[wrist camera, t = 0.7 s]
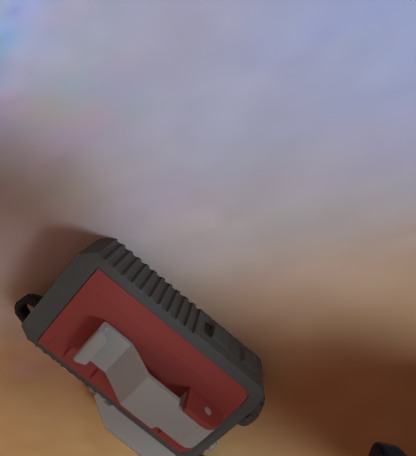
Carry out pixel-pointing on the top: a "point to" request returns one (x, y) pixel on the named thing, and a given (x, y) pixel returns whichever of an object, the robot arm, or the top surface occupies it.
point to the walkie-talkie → (144, 353)
